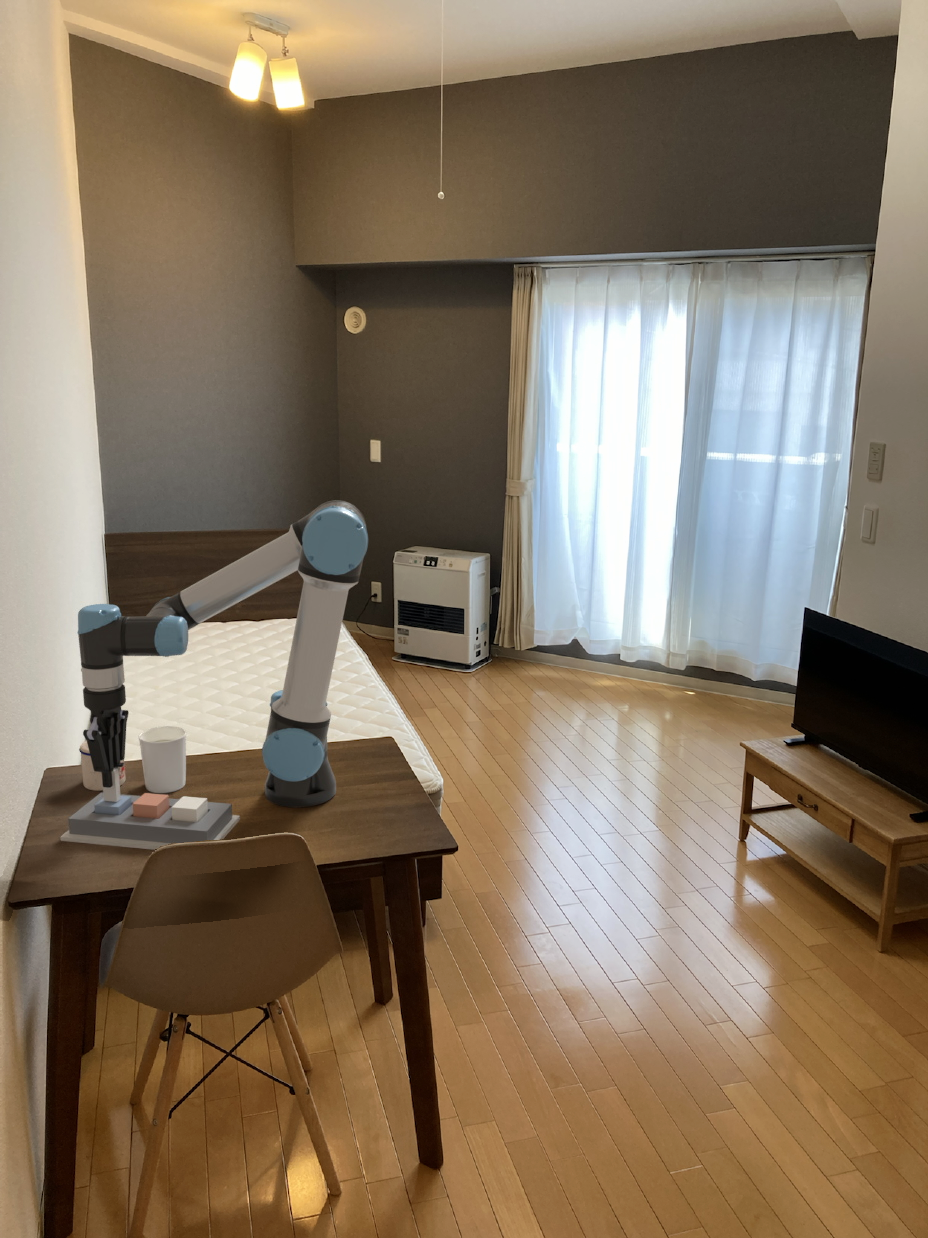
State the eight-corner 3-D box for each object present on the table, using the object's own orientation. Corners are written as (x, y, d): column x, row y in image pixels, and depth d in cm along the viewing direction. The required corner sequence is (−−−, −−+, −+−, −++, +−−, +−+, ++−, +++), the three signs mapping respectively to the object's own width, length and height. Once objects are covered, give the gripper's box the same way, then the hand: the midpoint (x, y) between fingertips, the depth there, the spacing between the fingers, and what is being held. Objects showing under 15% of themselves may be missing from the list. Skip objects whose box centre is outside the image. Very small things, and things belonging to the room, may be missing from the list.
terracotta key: (169, 809, 184) (168, 795, 183) (157, 820, 179) (156, 805, 178) (145, 806, 185) (144, 793, 184) (133, 818, 180) (132, 803, 179)
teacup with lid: (122, 790, 200) (118, 740, 197) (78, 793, 198) (73, 741, 195) (132, 768, 211) (128, 720, 208) (90, 770, 210) (86, 722, 207)
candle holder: (196, 778, 207) (194, 727, 204) (176, 797, 197) (173, 744, 194) (155, 774, 208) (152, 724, 205) (133, 793, 199) (129, 740, 196)
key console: (240, 819, 188) (239, 801, 187) (209, 855, 173) (208, 835, 172) (101, 807, 192) (100, 789, 191) (60, 840, 178) (58, 821, 177)
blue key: (132, 810, 185) (131, 796, 184) (119, 821, 180) (118, 807, 180) (108, 808, 186) (107, 794, 185) (95, 819, 181) (94, 805, 180)
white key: (207, 812, 183) (207, 798, 182) (197, 823, 178) (196, 809, 177) (183, 810, 183) (183, 796, 183) (172, 821, 179) (171, 807, 178)
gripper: (103, 674, 183) (111, 784, 189) (66, 694, 171) (76, 812, 177) (138, 676, 182) (146, 787, 188) (104, 697, 170) (113, 816, 176)
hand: (112, 799), depth 182 cm, fingers closed
